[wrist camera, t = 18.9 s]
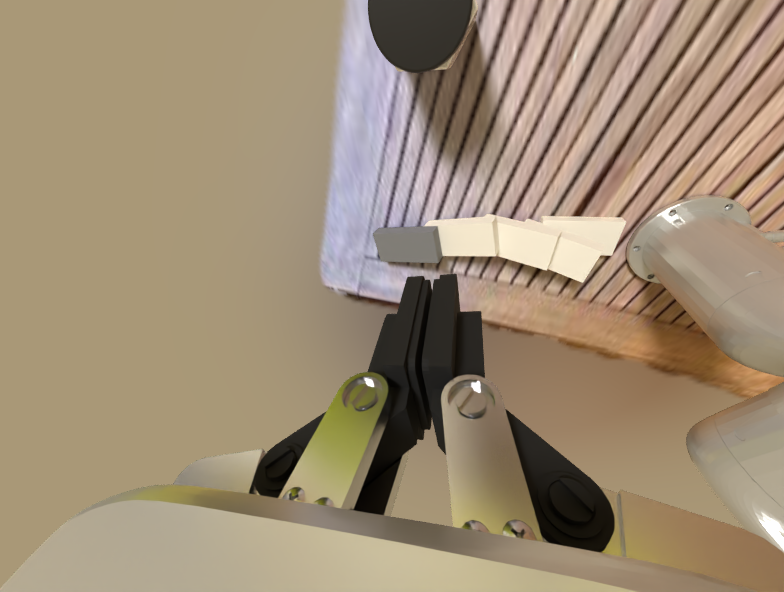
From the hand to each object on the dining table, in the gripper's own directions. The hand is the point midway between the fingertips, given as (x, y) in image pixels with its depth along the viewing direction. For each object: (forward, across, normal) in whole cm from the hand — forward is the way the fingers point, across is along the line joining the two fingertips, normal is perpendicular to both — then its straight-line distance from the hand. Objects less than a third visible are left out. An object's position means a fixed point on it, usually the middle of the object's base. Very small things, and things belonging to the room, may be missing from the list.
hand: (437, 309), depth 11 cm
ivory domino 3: (+34, -7, +15) cm, 38 cm away
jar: (+35, +2, -11) cm, 37 cm away
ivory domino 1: (+34, +5, +14) cm, 37 cm away
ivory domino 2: (+34, -2, +13) cm, 37 cm away
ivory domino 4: (+35, -10, +15) cm, 39 cm away
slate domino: (+34, +14, +14) cm, 39 cm away
